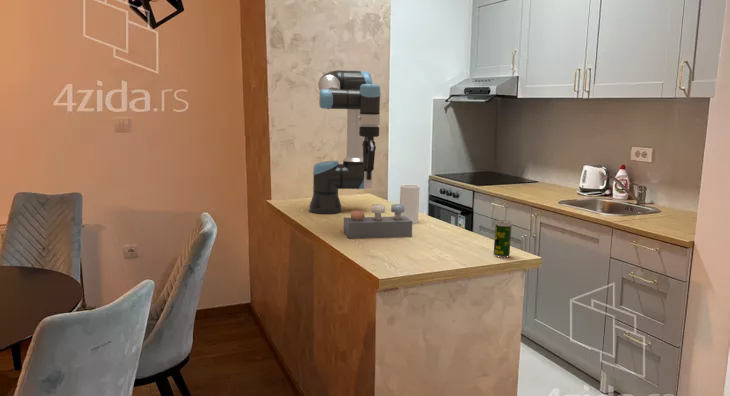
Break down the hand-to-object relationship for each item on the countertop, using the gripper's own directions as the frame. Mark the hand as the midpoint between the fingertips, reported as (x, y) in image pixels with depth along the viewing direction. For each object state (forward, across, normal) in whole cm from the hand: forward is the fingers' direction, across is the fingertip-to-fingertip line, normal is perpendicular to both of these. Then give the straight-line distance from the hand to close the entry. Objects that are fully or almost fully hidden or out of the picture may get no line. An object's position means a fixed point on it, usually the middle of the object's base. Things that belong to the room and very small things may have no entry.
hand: (367, 187), depth 214 cm
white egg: (+15, 0, +4) cm, 15 cm away
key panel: (+19, 0, +4) cm, 19 cm away
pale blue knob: (+15, -1, +12) cm, 19 cm away
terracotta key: (+17, 0, -4) cm, 17 cm away
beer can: (+19, +35, +40) cm, 56 cm away
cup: (+19, -22, +23) cm, 37 cm away
